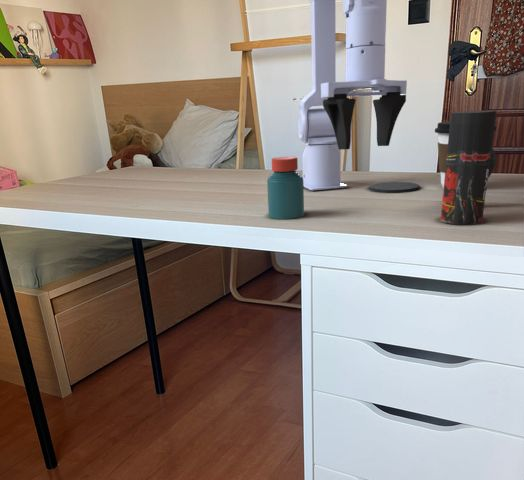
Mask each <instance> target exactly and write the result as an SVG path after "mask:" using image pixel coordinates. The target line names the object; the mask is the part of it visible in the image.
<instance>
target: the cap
mask: <svg viewBox="0 0 524 480" xmlns="http://www.w3.org/2000/svg"><path fill="white" fill-rule="evenodd" d="M298 168H299V166H298V157H297V156H279V157H278V156H277V157H273V158H271V171H272V172H274V171H276V172H285V171H294V170H296V171H298Z"/></svg>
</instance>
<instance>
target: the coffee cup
mask: <svg viewBox="0 0 524 480" xmlns="http://www.w3.org/2000/svg"><path fill="white" fill-rule="evenodd" d="M436 126H437V127H435V128H434V133H436V134H437V139H438V142H437V154H438V170H439V172H440V184H441V186H442V188H443V190H444V180H445V170H446V159H447V149H448V139H449V128H450V120H448V121H441V122H438V123H437V125H436ZM495 131H497V126H495V127H494V132H495Z"/></svg>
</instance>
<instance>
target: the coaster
mask: <svg viewBox="0 0 524 480" xmlns="http://www.w3.org/2000/svg"><path fill="white" fill-rule="evenodd" d="M419 189H420V184H419V183H415V182H410V181H409V182H408V181H407V182H406V181H385V182H378V183H372V184H370V185H368V190H369V191H371V192H376V193H385V194H386V193H395V194H396V193H397V194H398V193H408V192H409V193H410V192H414V191H417V190H419Z"/></svg>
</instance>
